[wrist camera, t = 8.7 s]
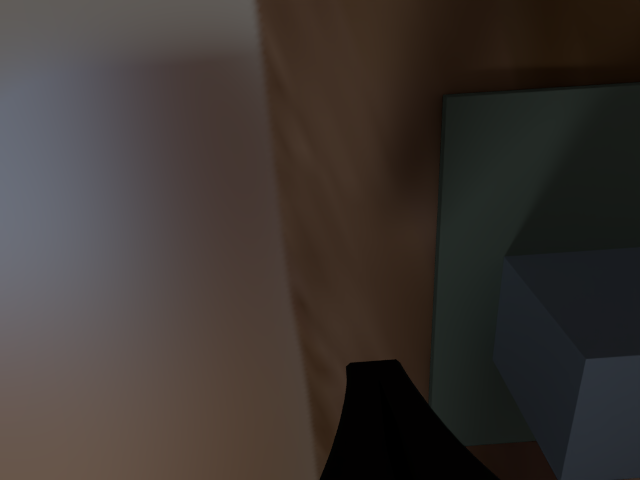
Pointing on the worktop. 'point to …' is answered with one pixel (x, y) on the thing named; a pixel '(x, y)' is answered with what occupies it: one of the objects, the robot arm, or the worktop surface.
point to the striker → (575, 357)
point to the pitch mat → (520, 224)
